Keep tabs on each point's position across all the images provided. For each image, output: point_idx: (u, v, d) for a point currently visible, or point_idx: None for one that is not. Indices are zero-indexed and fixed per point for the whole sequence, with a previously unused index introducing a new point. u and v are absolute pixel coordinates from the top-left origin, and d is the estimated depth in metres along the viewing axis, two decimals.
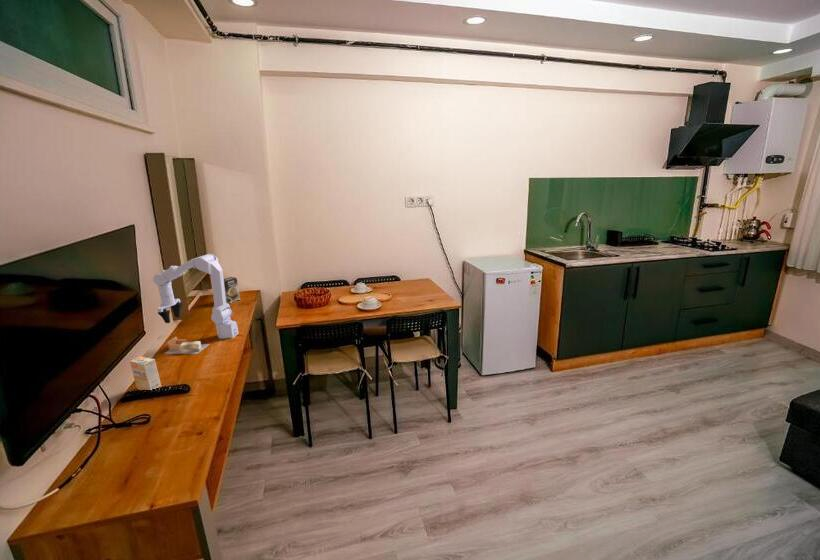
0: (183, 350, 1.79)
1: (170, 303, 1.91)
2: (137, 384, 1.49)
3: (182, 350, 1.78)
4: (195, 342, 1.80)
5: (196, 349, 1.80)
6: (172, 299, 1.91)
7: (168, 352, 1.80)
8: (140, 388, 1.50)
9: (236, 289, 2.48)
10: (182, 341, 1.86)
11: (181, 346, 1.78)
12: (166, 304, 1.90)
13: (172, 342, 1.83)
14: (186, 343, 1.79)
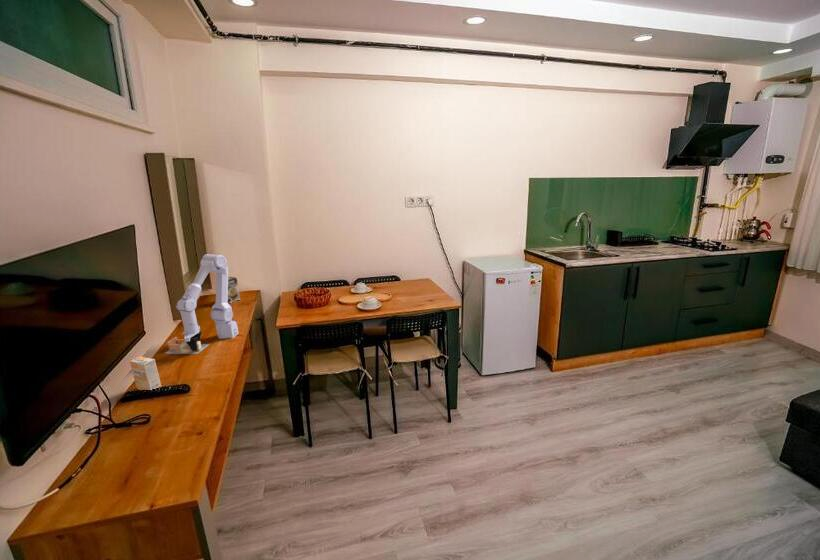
0: (183, 350, 1.79)
1: (195, 331, 1.77)
2: (137, 384, 1.49)
3: (182, 350, 1.78)
4: None
5: None
6: (197, 326, 1.78)
7: (168, 352, 1.80)
8: (140, 388, 1.50)
9: (236, 289, 2.48)
10: (182, 341, 1.86)
11: (181, 346, 1.78)
12: (191, 332, 1.76)
13: (172, 342, 1.83)
14: (186, 343, 1.79)
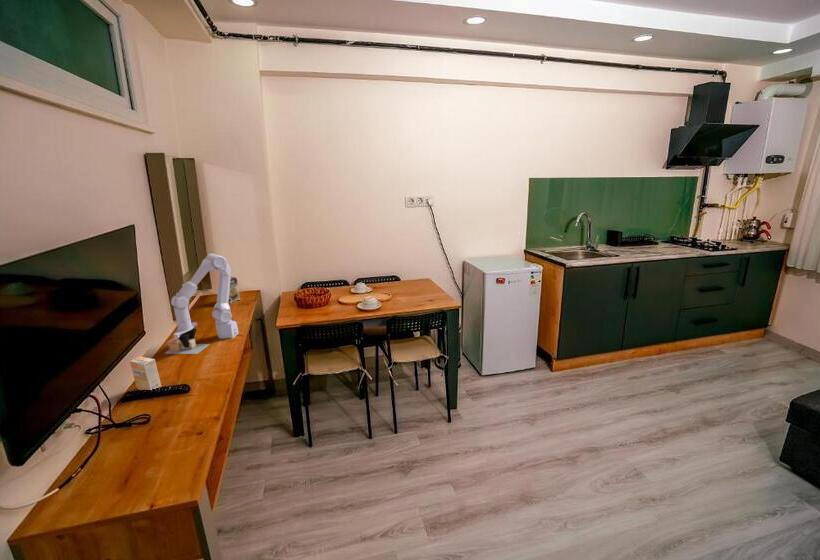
0: None
1: (187, 328, 1.79)
2: (137, 384, 1.49)
3: None
4: (189, 340, 1.83)
5: (189, 347, 1.82)
6: (189, 324, 1.80)
7: (168, 352, 1.80)
8: (140, 388, 1.50)
9: (236, 289, 2.48)
10: None
11: (176, 342, 1.82)
12: (183, 329, 1.78)
13: (172, 342, 1.83)
14: None
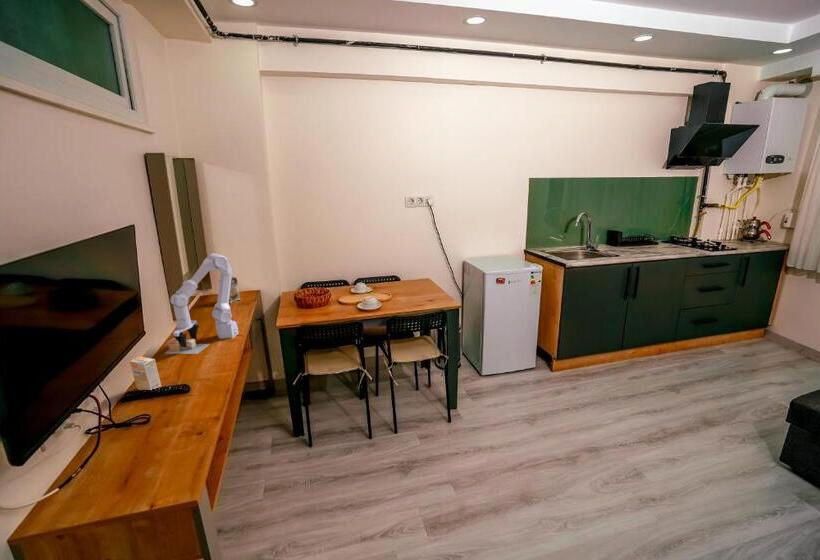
0: None
1: (187, 326, 1.79)
2: (137, 384, 1.49)
3: None
4: (189, 340, 1.83)
5: (189, 347, 1.82)
6: (189, 322, 1.79)
7: (168, 352, 1.80)
8: (140, 388, 1.50)
9: (236, 289, 2.48)
10: None
11: (176, 342, 1.82)
12: (182, 327, 1.78)
13: (172, 342, 1.83)
14: None
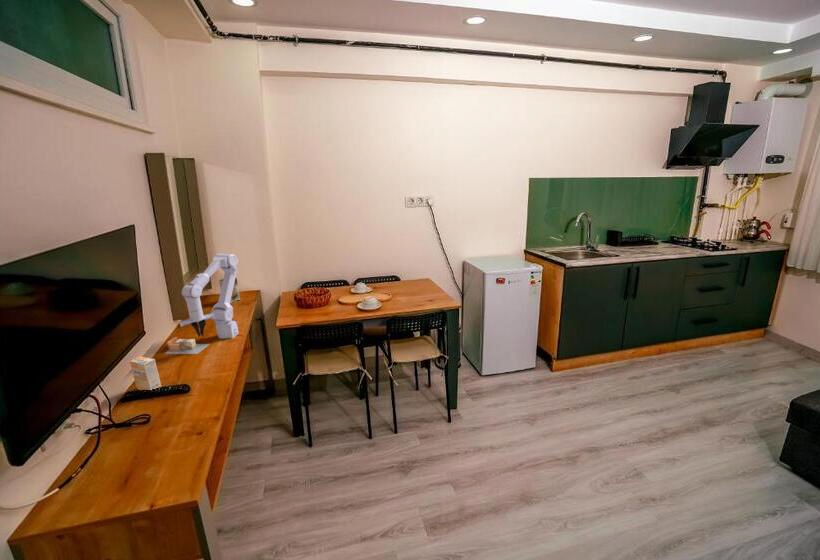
0: None
1: (193, 319, 1.76)
2: (137, 384, 1.49)
3: None
4: (189, 340, 1.83)
5: (189, 347, 1.82)
6: (196, 315, 1.76)
7: (168, 352, 1.80)
8: (140, 388, 1.50)
9: (236, 289, 2.48)
10: None
11: (176, 342, 1.82)
12: (190, 319, 1.76)
13: (172, 342, 1.83)
14: (182, 340, 1.83)
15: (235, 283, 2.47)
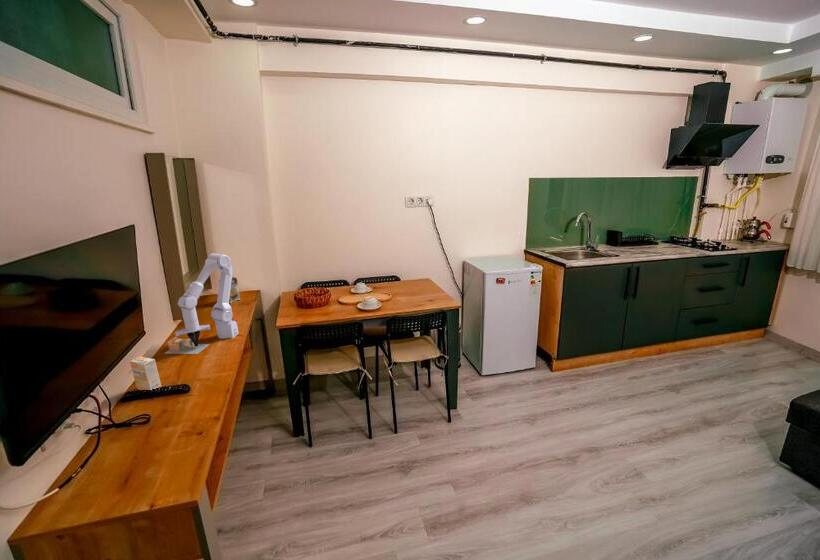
0: None
1: (188, 329, 1.78)
2: (137, 384, 1.49)
3: None
4: (188, 340, 1.83)
5: (188, 347, 1.82)
6: (190, 326, 1.77)
7: (168, 352, 1.80)
8: (140, 388, 1.50)
9: (236, 289, 2.48)
10: None
11: (175, 342, 1.82)
12: (186, 329, 1.78)
13: (172, 342, 1.83)
14: (180, 340, 1.83)
15: (235, 283, 2.47)
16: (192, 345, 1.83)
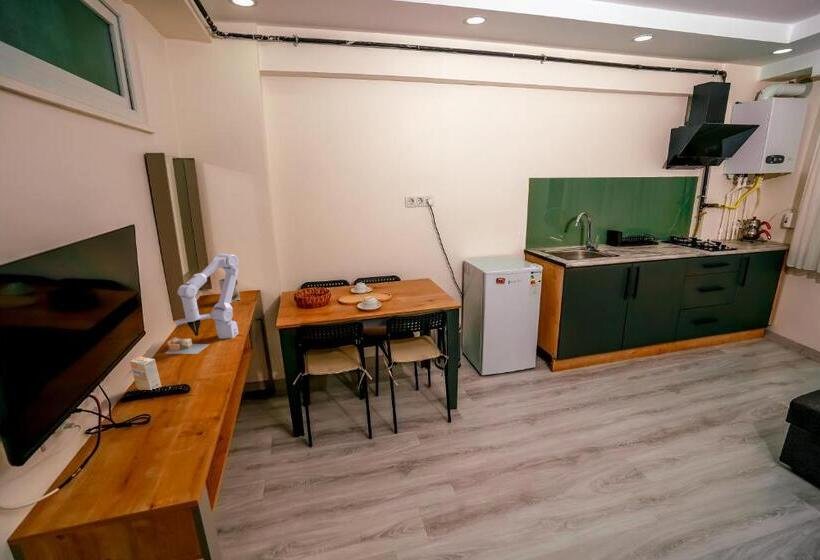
0: None
1: (188, 318, 1.76)
2: (137, 384, 1.49)
3: None
4: (186, 339, 1.83)
5: (186, 346, 1.83)
6: (191, 315, 1.76)
7: (168, 352, 1.80)
8: (140, 388, 1.50)
9: (236, 289, 2.48)
10: None
11: (173, 342, 1.83)
12: (186, 318, 1.77)
13: None
14: (178, 339, 1.84)
15: (235, 283, 2.47)
16: (190, 345, 1.84)
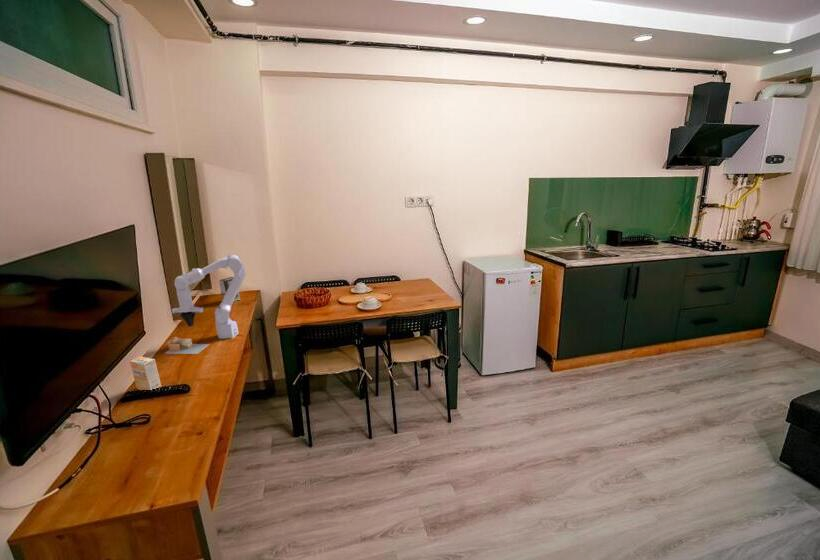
0: None
1: (180, 309, 1.82)
2: (137, 384, 1.49)
3: None
4: (186, 339, 1.83)
5: (186, 346, 1.83)
6: (182, 306, 1.81)
7: (168, 352, 1.80)
8: (140, 388, 1.50)
9: None
10: None
11: (173, 342, 1.83)
12: None
13: None
14: (178, 339, 1.84)
15: None
16: (190, 345, 1.84)
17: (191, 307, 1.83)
